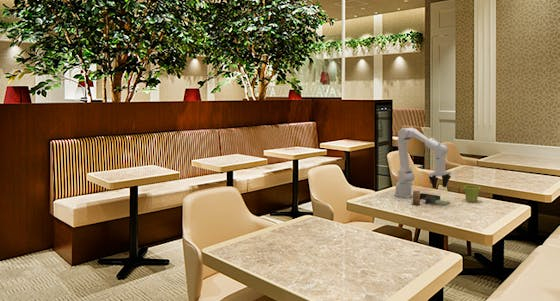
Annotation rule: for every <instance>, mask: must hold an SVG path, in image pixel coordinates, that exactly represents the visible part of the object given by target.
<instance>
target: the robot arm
mask: <svg viewBox="0 0 560 301" xmlns="http://www.w3.org/2000/svg"><path fill="white" fill-rule="evenodd" d="M397 134H398V137H397V149H398V157H399V163H400V164H399V167H400V168H399V169H398V172H397V173H398V174H397V180H398V181H397V182H396V184H395V193H394V196H395V197H399V198H405V199H410V198H413V194H412V193H413V191H412V188H413V185H412V184H413V181H414V180H415V174H414V172H413V169H412V168H411V167H410V160H409V152H408V142H409V141H410V140H411V139H413V138H415V139H417V140H418V141H420V142H422V143H424V144H425V147H427V148H429V150H432V151H433V153H434V157H435V160H434V161H435V163H434V164H435V166H434V171H433V172H429V173H428V179H429V180H430V183H431V185H432V186H431V187H432V189H437V185H438V179H439V177H440V176H441V178H442V187H443V188H447V186H448V183H449V181H450V179H451V175H452V174H451V171H449V170H448V171H446V165H447V164H446V161H447V153H448V152H449V147H448V146H447V145H446V144H445V143H444V144H442V143H441V142H440V141H439V142H438V141H437V140H436V139H435V138H434V137H427V136H426V135H424V134H423V133H421V132H420V131H419V130H418V129H416V128H415V127H402V128H400V130H398V133H397Z"/></svg>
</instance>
